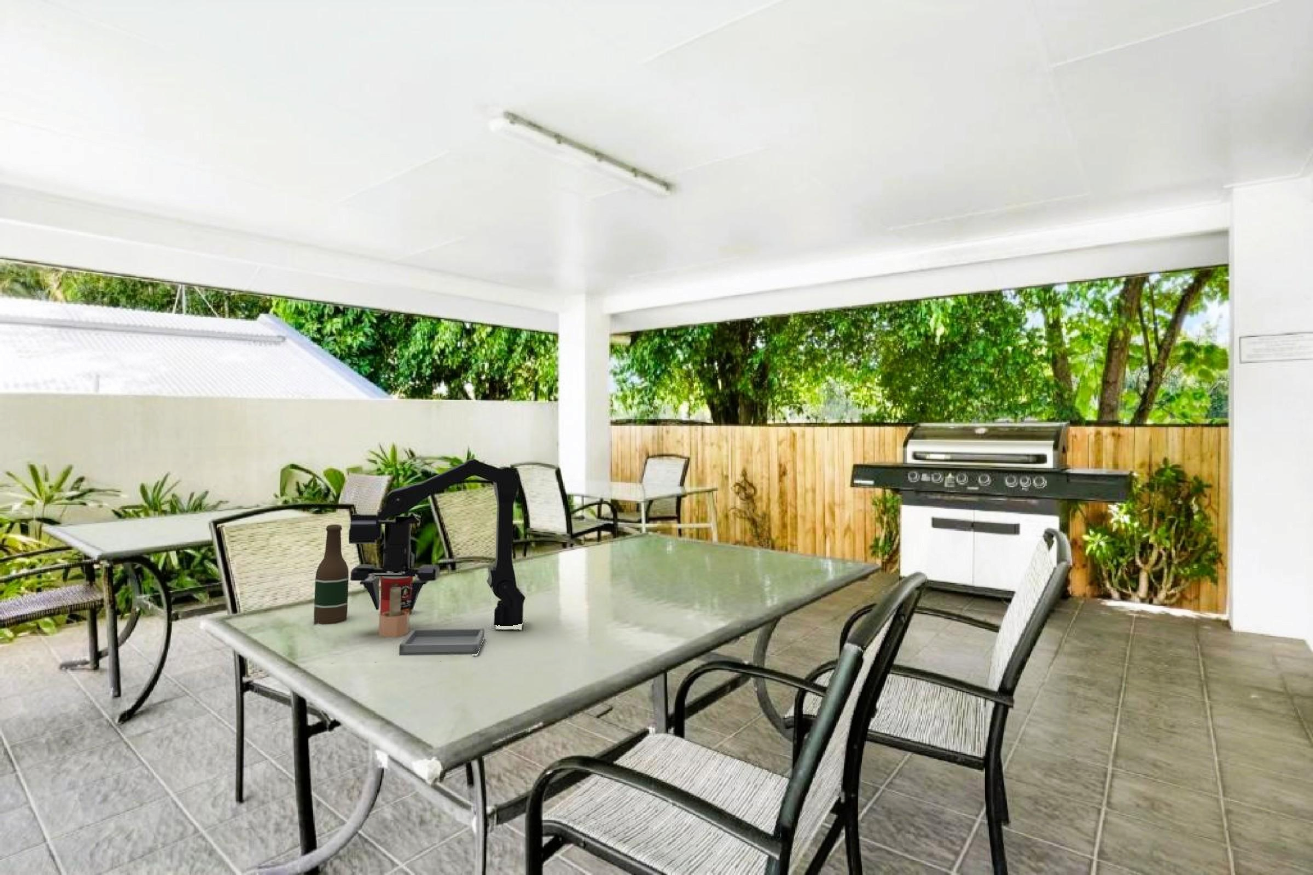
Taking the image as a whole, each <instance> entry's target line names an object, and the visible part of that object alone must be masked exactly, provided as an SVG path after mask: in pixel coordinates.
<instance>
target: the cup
mask: <svg viewBox="0 0 1313 875" xmlns="http://www.w3.org/2000/svg"><path fill="white" fill-rule="evenodd" d="M378 625H379V628H378V636H381V637H383V638H398V637H403V636H407V635H408V634H409V633H410V615H409V612H406V611H400V616H389V611H388V612H383V613H382V614H381V615H380V614H379V623H378Z"/></svg>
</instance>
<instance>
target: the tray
mask: <svg viewBox="0 0 1313 875" xmlns="http://www.w3.org/2000/svg"><path fill="white" fill-rule="evenodd" d="M483 638H484V639H485V628H421V629H420V628H418V629H416V628H412V630H411V631H409V632H408V633H407V635H406V636H405V638H404V640H402V641H401V643H400V644H399V646H398V648H399V649H398V650H399V652H398V655H399V656H425V655H426V656H427V655H429V656H433V655H434V656H435V655H437V656H439V655H440V656H441V655H447V656H448V655H472V654H477V653H478V651H479V648H480V646H481V643H482V641H483ZM483 642H484V641H483ZM482 644H483V643H482ZM481 647H482V646H481ZM480 649H481V648H480ZM479 652H480V651H479ZM478 654H479V653H478Z"/></svg>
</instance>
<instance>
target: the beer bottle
mask: <svg viewBox="0 0 1313 875" xmlns="http://www.w3.org/2000/svg"><path fill="white" fill-rule="evenodd" d="M342 530H343V527H342V525H341V524H329V525H327V526H326V528H325V531H326V539H325V540H326V541H325V549H324V554H323V559H322V560H321V562H320V563H319V565H318V566H317V569H316V571H315V578H314V603H313V605H314V606H313V624H314V625H315V626H316V625H332V624H333V625H334V624H339V623H343V622H346V620H347V618H348V607H349V606H348V605H349V604H348V602H349V581H350V580H349V578H350V576H349V567H348V563H347V561H346V560H345V559H344V557H343V553H342V533H341V532H342Z"/></svg>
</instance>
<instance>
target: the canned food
mask: <svg viewBox="0 0 1313 875" xmlns="http://www.w3.org/2000/svg"><path fill="white" fill-rule="evenodd" d="M388 572H389V571H387V573H388ZM389 573H390V572H389ZM391 573H393V572H391ZM399 573H400V572H399ZM401 573H402V572H401ZM403 573H405V572H403ZM380 578H381V579H380V605H379V616H380V615H381V614H382V613H383V612H388V611H389V605H390V588H392V587H401V606H400V611H406V612H409V616H410V615H411V614H412V612H413V610H411V605H410V603H411V593H412V584H413V582H414V578H413V577H385V576H380Z"/></svg>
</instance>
